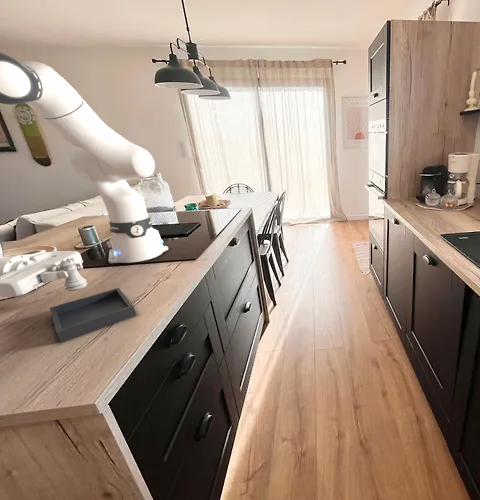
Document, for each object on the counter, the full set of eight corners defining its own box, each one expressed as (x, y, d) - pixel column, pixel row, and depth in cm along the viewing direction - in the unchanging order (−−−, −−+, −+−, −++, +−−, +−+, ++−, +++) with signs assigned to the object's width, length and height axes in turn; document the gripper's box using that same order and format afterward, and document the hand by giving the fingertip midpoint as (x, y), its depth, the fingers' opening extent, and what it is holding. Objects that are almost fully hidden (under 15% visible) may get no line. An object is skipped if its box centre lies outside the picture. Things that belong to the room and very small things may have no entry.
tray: (53, 316, 70) (49, 307, 69) (121, 295, 80) (118, 287, 79) (60, 342, 61) (56, 332, 60) (136, 315, 70) (133, 306, 70)
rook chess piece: (92, 285, 77) (82, 257, 75) (72, 292, 74) (61, 264, 71) (81, 282, 79) (71, 255, 76) (61, 290, 75) (50, 262, 72)
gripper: (-38, 280, 62) (33, 277, 64) (44, 247, 81) (97, 245, 83) (-24, 305, 64) (44, 301, 66) (52, 268, 83) (104, 265, 85)
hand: (74, 270), depth 75 cm, fingers closed on rook chess piece, 3 cm apart
